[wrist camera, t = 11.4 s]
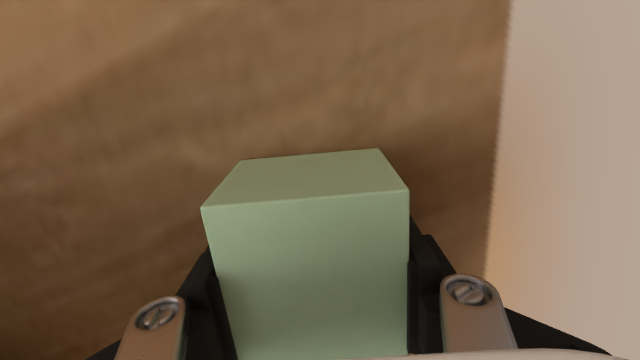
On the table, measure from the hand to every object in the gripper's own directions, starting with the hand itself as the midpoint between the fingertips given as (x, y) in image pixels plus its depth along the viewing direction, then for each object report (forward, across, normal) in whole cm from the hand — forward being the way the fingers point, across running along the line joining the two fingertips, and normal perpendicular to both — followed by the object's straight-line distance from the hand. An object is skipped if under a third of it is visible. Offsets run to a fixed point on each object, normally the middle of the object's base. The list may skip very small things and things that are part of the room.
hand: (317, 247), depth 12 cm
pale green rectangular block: (+1, 0, 0) cm, 1 cm away
